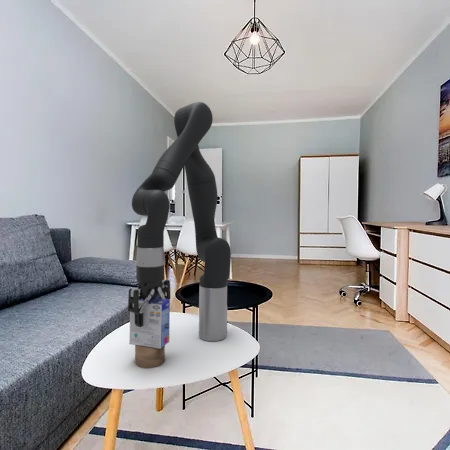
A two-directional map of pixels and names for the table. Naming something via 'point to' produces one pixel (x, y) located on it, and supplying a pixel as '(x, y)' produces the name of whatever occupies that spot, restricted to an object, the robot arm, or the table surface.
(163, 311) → the ink cartridge box
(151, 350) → the walnut block
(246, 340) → the table surface
